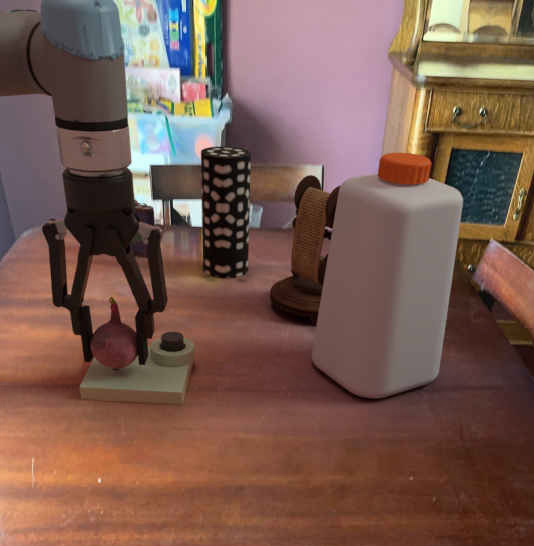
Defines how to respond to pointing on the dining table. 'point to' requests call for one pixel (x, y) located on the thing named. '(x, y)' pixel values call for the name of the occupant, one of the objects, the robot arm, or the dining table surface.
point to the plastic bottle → (388, 279)
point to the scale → (143, 377)
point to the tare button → (172, 341)
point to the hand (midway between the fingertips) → (116, 358)
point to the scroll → (307, 250)
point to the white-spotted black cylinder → (225, 210)
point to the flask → (146, 217)
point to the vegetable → (114, 342)
